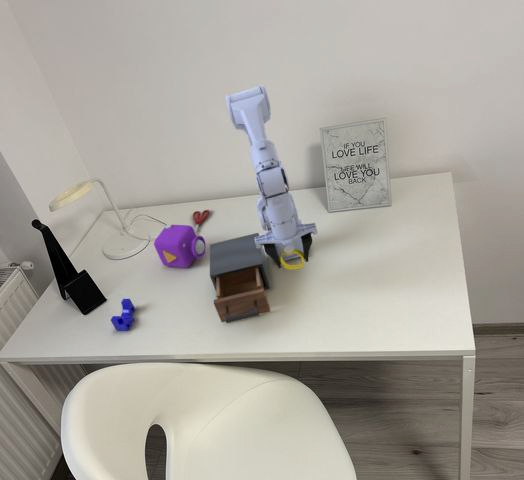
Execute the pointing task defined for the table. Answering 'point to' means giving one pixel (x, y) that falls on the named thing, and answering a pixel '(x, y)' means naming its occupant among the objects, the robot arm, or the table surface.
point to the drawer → (240, 295)
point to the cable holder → (124, 316)
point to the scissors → (199, 220)
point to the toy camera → (179, 245)
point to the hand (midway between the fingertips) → (292, 262)
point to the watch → (288, 251)
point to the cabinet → (237, 258)
